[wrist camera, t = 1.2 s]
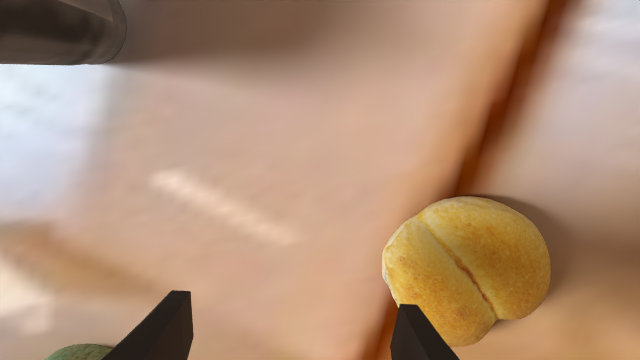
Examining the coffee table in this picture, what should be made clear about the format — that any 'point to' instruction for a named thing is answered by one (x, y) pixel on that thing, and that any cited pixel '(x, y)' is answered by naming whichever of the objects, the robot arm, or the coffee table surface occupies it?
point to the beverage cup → (60, 31)
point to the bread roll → (467, 266)
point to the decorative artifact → (80, 352)
